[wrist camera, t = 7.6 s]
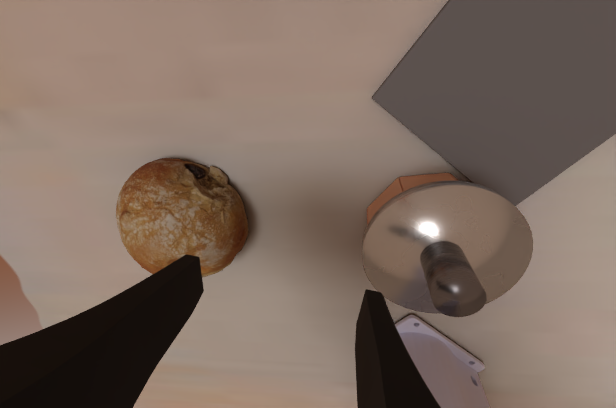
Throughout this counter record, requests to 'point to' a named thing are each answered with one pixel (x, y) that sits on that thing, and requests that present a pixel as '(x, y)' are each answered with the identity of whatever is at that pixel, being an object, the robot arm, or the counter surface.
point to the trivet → (510, 88)
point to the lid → (446, 247)
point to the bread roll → (181, 215)
